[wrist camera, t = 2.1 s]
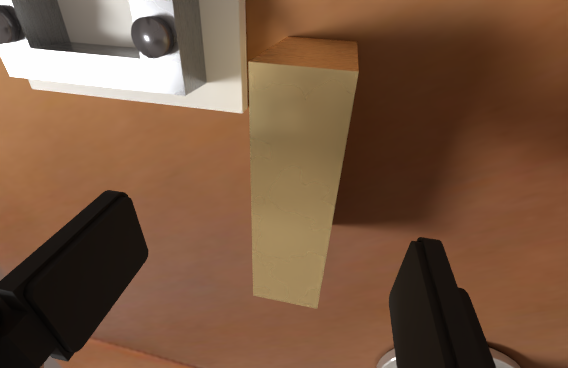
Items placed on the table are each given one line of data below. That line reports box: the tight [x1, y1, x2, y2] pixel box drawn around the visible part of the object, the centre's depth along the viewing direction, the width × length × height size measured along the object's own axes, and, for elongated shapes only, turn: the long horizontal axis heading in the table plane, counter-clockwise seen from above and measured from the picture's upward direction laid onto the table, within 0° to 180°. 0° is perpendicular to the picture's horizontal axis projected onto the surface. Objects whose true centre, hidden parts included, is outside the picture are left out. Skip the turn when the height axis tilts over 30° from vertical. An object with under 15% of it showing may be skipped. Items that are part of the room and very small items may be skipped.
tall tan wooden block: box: [248, 36, 359, 308], centre depth 15 cm, size 4×12×7 cm, turn 177°
